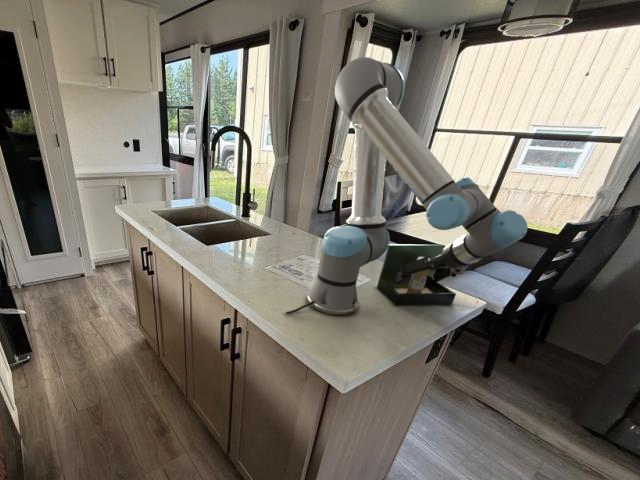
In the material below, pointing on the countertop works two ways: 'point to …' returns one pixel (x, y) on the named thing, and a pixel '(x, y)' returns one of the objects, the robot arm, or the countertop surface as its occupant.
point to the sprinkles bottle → (417, 281)
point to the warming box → (402, 256)
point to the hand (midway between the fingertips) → (415, 278)
